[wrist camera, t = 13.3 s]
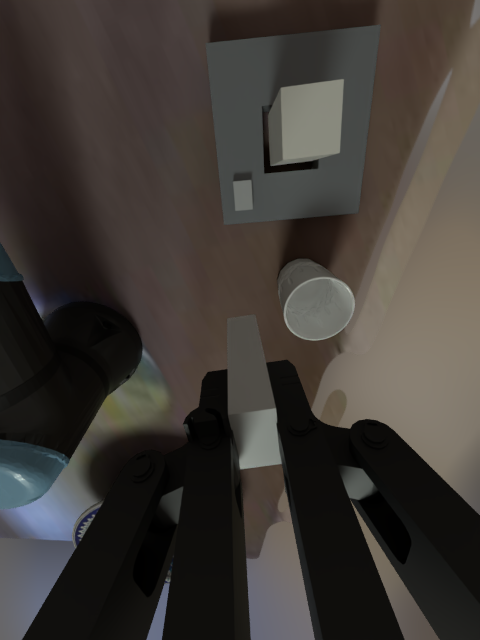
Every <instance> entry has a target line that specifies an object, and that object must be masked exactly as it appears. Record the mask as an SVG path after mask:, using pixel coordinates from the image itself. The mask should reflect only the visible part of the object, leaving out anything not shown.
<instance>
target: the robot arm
mask: <svg viewBox="0 0 480 640" xmlns="http://www.w3.org/2000/svg"><path fill="white" fill-rule="evenodd" d="M22 280H24V279H23V276H22V275H21V274H19V273H18V272H17V270H16V268H15V266H14V265H13V263H12V261H11V260H10V258H9V256H8V254H7V253H6V251H5V249H4V247H3V246H2V244H1V243H0V509H10V508H16V507H20V506H24V505H27V504H30V503H32V502H34V501H36V500H37V499H39V498H40V497H42V496H43V495H44V494H45V493H46V492H47V491H48V490H49V489H50V487H51V486H52V484H53V483H54V481H55V480H56V478H57V477H58V475H59V474H60V473H61V471H62V470H63V469H64V468H65V467H66V466H67V465H68V463H69V461H70V458H71V457H72V455H73V453H74V452H75V450H76V448H77V446H78V445H79V443H80V441H81V440H82V438H83V436H84V434H85V433H86V431H87V429H88V428H89V426H90V424H91V422H92V421H93V419H94V417H95V416H96V414H97V412H98V410H99V409H100V407H101V405H102V403H103V402H104V400H105V399H106V397H107V396H108V395H109V394H111V393H112V392H113V391H114V390H116V389H117V388H118V387H119V386H120V385H122V384H123V383H125V382H126V381H127V380H128V379H129V378H130V377H131V376H132V375H133V374H134V372H135V370H136V369H137V367H138V365H139V363H140V361H141V357H142V344H141V340H140V338H139V335H138V333H137V332H136V330H135V329H134V327H133V326H132V325H131V324H130V322H129V321H128V320H127V319H125V318H124V317H123V316H122V315H120V314H119V313H117V312H116V311H114V310H112V309H110V308H108V307H106V306H103V305H100V304H96V303H91V302H73V303H69V304H66V305H63V306H61V307H59V308H58V309H56V310H55V311H54V312H52V313H51V314H49V315H48V316H47V317H46V318H45V319H44V320H43V321H42V319H41V317H40V315H39V313H38V311H37V309H36V307H35V305H34V303H33V301H32V299H31V297H30V295H29V293H28V291H27V289H26V287H25V285H24V283H23V281H22ZM227 357H228V369H225V370H218V371H212V372H207V374H206V376H205V377H204V379H203V380H202V386H201V395H200V403H199V407H198V408H196V409H195V410H193V411H192V412H190V414H189V415H188V416H187V417H186V418H185V421H184V423H183V426H184V429H185V432H186V435H187V437H188V440H189V442H188V443H187V444H185V445H184V446H183V447H181V448H179V449H177V450H175V451H173V452H171V453H168V454H166V455H164V456H163V455H162V454H161V453H160V452H158V451H155V450H148V451H144V452H141V453H139V454H137V455H135V456H134V457H133V458H132V459H130V460H129V461H128V463H127V464H126V465H125V466H124V468H123V469H122V471H121V473H120V474H119V476H118V478H117V479H116V481H115V483H114V484H113V486H112V488H111V490H110V491H109V493H108V495H107V496H106V498H105V500H104V501H103V503H102V505H101V507H100V508H99V510H98V512H97V513H96V515H95V517H94V518H93V520H92V522H91V524H90V525H89V527H88V529H87V530H86V532H85V534H84V535H83V537H82V539H81V540H80V542H79V544H78V546H77V547H76V549H75V551H74V552H73V554H72V556H71V558H70V559H69V561H68V563H67V564H66V566H65V568H64V570H63V571H62V573H61V574H60V576H59V578H58V580H57V581H56V583H55V585H54V586H53V588H52V590H51V591H50V593H49V595H48V597H47V598H46V600H45V602H44V603H43V605H42V607H41V609H40V610H39V612H38V614H37V615H36V617H35V619H34V620H33V622H32V624H31V626H30V627H29V629H28V631H27V632H26V634H25V636H24V638H23V639H22V640H146V639H147V636H148V633H149V630H150V626H151V623H152V620H153V617H154V614H155V611H156V608H157V605H158V602H159V598H160V595H161V592H162V589H163V586H164V583H165V580H166V577H167V574H168V571H169V568H170V565H171V562H172V559H173V564H172V571H171V578H170V586H169V593H168V600H167V607H166V615H165V622H164V629H163V636H162V640H251V638H250V620H249V601H248V584H247V566H246V547H245V529H244V511H243V493H242V484H241V479H240V469H246V468H253V467H261V466H268V465H276V464H282V467H283V473H284V482H285V492H286V493H287V497H288V502H289V507H290V512H291V518H292V523H293V528H294V533H295V538H296V544H297V549H298V554H299V559H300V564H301V569H302V575H303V580H304V585H305V590H306V595H307V601H308V606H309V611H310V616H311V621H312V626H313V632H314V637H315V640H404V637H403V634H402V632H401V630H400V627H399V624H398V622H397V619H396V617H395V614H394V611H393V609H392V606H391V604H390V601H389V599H388V596H387V593H386V591H385V588H384V586H383V583H382V581H381V578H380V575H379V573H378V570H377V568H376V565H375V562H374V560H373V557H372V555H371V552H370V550H369V547H368V544H367V542H366V539H365V537H364V534H363V532H362V529H361V526H360V524H359V522H358V519H357V516H356V514H355V511H354V508H353V506H352V504H351V501H352V503H353V505H354V506H355V508H356V509H357V511H358V512H359V514H360V515H361V517H362V518H363V520H364V522H365V523H366V525H367V526H368V528H369V530H370V531H371V533H372V534H373V536H374V537H375V539H376V541H377V542H378V544H379V545H380V547H381V548H382V550H383V551H384V553H385V554H386V556H387V558H388V559H389V561H390V562H391V564H392V566H393V567H394V568H395V570H396V572H397V573H398V575H399V577H400V578H401V580H402V581H403V582H404V584H405V586H406V587H407V589H408V590H409V592H410V594H411V595H412V597H413V598H414V600H415V601H416V603H417V605H418V606H419V608H420V609H421V611H422V612H423V614H424V616H425V617H426V619H427V620H428V622H429V623H430V625H431V627H432V628H433V630H434V631H435V633H436V634H437V636H438V638H439V639H440V640H480V515H479V514H478V513H477V512H476V511H475V510H474V509H473V508H472V507H471V506H470V505H469V504H468V503H467V502H465V500H464V499H463V498H462V497H461V496H460V495H459V494H458V493H456V491H454V490H453V489H452V488H451V487H450V486H449V485H448V484H447V483H446V482H445V481H444V480H443V479H442V478H441V477H440V476H439V475H438V474H437V473H436V472H435V471H434V470H433V469H432V468H431V467H430V466H429V465H428V464H427V463H426V462H425V461H424V460H423V459H422V458H421V457H420V456H419V455H418V454H417V453H416V452H415V451H414V450H413V449H412V448H411V447H410V446H409V445H408V444H407V443H406V442H405V441H404V440H403V439H402V438H401V437H400V436H399V435H398V434H397V433H396V432H395V431H394V430H393V429H391V428H390V427H389V426H387V425H386V424H384V423H381V422H379V421H376V420H370V419H365V420H359V421H357V422H356V423H354V424H353V425H352V427H351V428H350V429H348V428H340V427H335V426H330V425H327V424H325V423H323V422H321V421H320V420H318V419H317V418H316V417H315V416H314V414H313V413H312V411H311V408H310V406H309V403H308V400H307V398H306V395H305V392H304V390H303V387H302V384H301V382H300V379H299V377H298V374H297V371H296V368H295V366H294V365H293V364H292V363H290V362H289V361H288V360H282V361H275V362H268V363H266V361H265V357H264V352H263V348H262V343H261V339H260V334H259V329H258V325H257V320H256V316H255V315H248V316H242V317H235V318H228V319H227ZM239 465H240V467H239ZM350 500H351V501H350ZM173 555H174V557H173Z"/></svg>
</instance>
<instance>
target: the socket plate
mask: <svg viewBox="0 0 480 640" xmlns="http://www.w3.org/2000/svg"><path fill="white" fill-rule="evenodd" d="M380 26H381V25H374V26H364V27H355V28H345V29H336V30H326V31H317V32H307V33H298V34H288V35H279V36H269V37H260V38H250V39H240V40H231V41H221V42H212V43H206V52H207V61H208V71H209V81H210V91H211V101H212V110H213V120H214V130H215V140H216V149H217V159H218V169H219V179H220V189H221V198H222V208H223V218H224V225H227V224H239V223H250V222H262V221H274V220H285V219H297V218H309V217H320V216H332V215H344V214H355V213H358V212H359V203H360V195H361V186H362V178H363V170H364V161H365V153H366V144H367V136H368V127H369V119H370V110H371V102H372V94H373V85H374V77H375V68H376V60H377V51H378V43H379V35H380ZM340 79H344V86H343V104H342V122H341V140H340V153H338V154H334V155H331V156H327V157H324V158H320V159H317V160H313V161H312V169H310V170H299V171H288V172H277V173H266V174H264V154H263V124H262V112H270V110H271V108H272V105H273V103H274V101H275V99H276V97H277V95H278V92H279V90H280V88H282V87H289V86H296V85H303V84H311V83H318V82H325V81H333V80H340Z"/></svg>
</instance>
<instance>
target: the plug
mask: <svg viewBox="0 0 480 640" xmlns="http://www.w3.org/2000/svg"><path fill="white" fill-rule="evenodd" d="M343 86H344V79H340V80H333V81H325V82H318V83H311V84H303V85H296V86H289V87H282V88H280V90H279V92H278V95H277V97H276V99H275V101H274V103H273V105H272V108H271V110H270V112H269V114H268V129H269V150H270V166H275V165H283V164H291V163H299V162H307V161H313V160H317V159H320V158H324V157H327V156H331V155H334V154H338V153H340V140H341V122H342V104H343Z"/></svg>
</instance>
